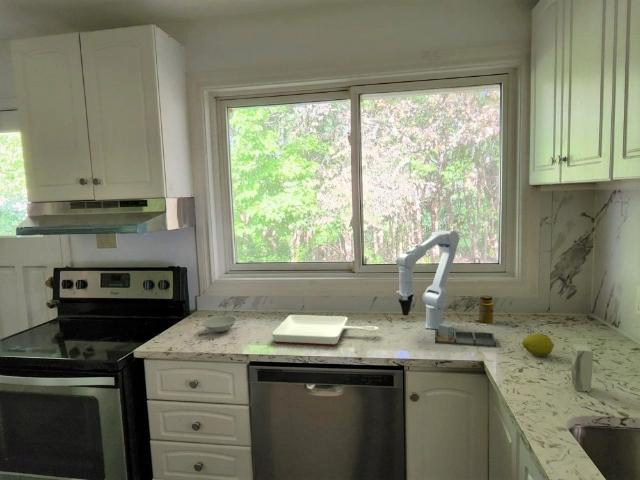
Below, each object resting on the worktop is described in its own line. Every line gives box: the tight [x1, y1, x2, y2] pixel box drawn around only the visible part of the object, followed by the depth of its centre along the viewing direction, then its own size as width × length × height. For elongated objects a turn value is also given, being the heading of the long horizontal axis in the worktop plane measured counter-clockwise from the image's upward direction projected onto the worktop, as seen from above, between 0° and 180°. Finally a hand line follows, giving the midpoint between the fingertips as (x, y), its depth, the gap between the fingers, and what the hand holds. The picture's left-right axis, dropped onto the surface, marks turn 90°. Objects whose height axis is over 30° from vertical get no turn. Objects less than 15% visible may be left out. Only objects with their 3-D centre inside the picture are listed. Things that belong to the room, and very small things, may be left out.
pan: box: [271, 314, 380, 347], centre depth 183 cm, size 28×44×5 cm, turn 78°
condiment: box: [472, 295, 497, 326], centre depth 194 cm, size 7×8×12 cm
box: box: [570, 344, 594, 393], centre depth 128 cm, size 5×4×13 cm
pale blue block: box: [437, 322, 454, 339], centre depth 173 cm, size 3×5×5 cm, turn 31°
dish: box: [202, 315, 238, 333], centre depth 192 cm, size 18×14×5 cm
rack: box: [434, 329, 497, 348], centre depth 171 cm, size 10×23×2 cm, turn 74°
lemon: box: [521, 333, 555, 357], centre depth 154 cm, size 11×8×8 cm
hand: (406, 312), depth 181 cm, fingers open, 7 cm apart
